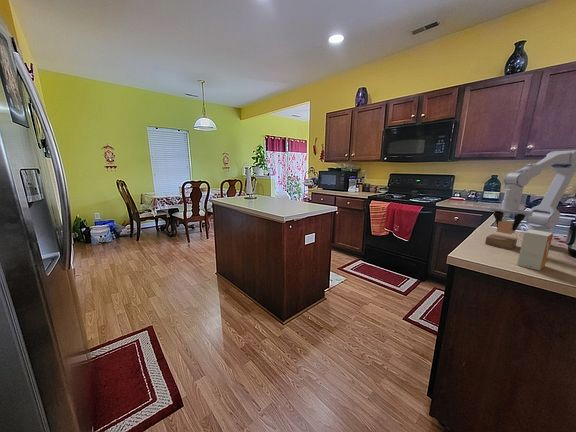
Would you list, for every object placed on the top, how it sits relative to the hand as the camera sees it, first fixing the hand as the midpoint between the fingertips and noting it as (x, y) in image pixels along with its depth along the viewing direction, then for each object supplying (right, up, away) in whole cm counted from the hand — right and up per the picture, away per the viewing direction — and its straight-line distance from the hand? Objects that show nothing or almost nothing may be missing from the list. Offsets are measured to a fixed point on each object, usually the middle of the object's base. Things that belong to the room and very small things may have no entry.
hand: (506, 228), depth 109 cm
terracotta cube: (0, -2, 0) cm, 2 cm away
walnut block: (0, -8, +3) cm, 9 cm away
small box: (-9, -13, -20) cm, 25 cm away
